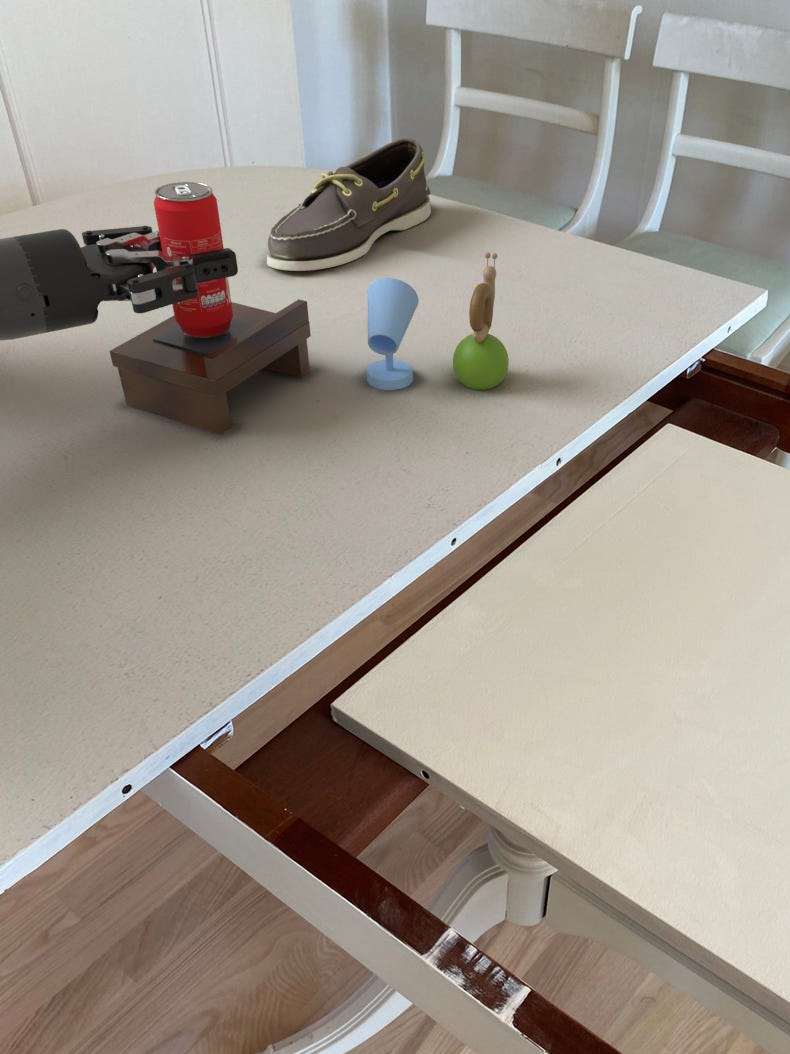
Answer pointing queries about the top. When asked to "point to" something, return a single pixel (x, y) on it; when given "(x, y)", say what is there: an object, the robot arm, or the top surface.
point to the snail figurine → (481, 340)
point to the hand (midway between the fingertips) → (221, 250)
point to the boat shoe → (353, 209)
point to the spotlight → (389, 331)
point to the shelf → (210, 363)
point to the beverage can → (192, 230)
